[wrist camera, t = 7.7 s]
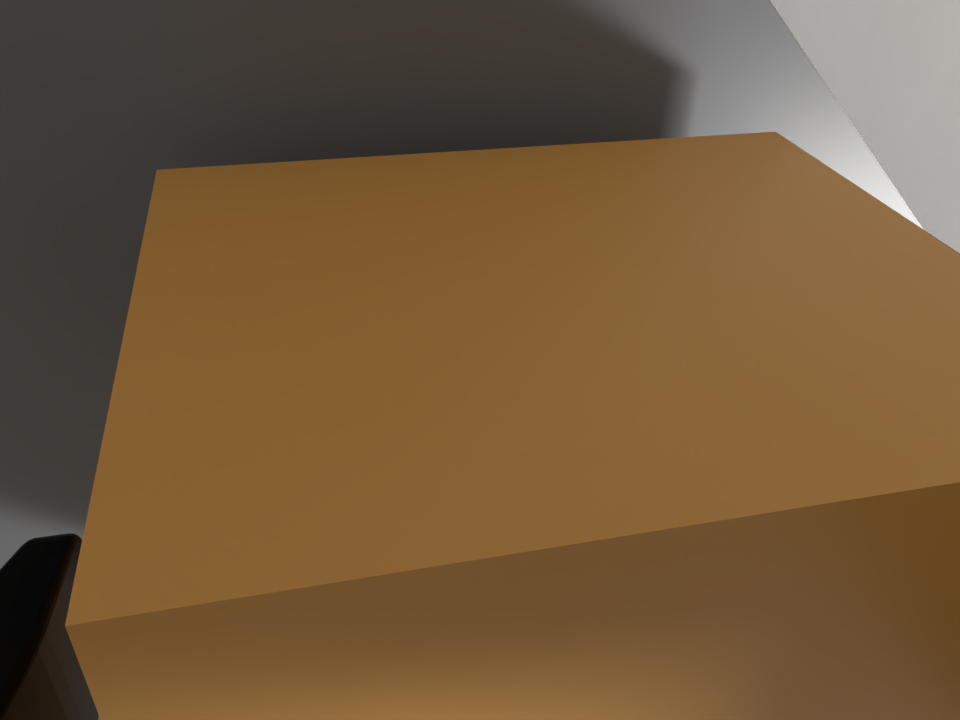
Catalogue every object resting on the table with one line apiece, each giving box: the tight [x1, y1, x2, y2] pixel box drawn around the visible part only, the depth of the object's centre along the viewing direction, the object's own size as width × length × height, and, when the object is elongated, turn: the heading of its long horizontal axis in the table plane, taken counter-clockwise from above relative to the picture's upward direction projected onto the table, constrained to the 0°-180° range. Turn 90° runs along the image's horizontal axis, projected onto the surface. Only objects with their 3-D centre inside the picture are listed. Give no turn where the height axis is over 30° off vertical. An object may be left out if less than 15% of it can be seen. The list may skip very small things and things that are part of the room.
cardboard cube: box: [65, 132, 960, 720], centre depth 8 cm, size 6×6×5 cm
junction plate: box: [0, 0, 923, 720], centre depth 12 cm, size 18×12×2 cm, turn 134°
